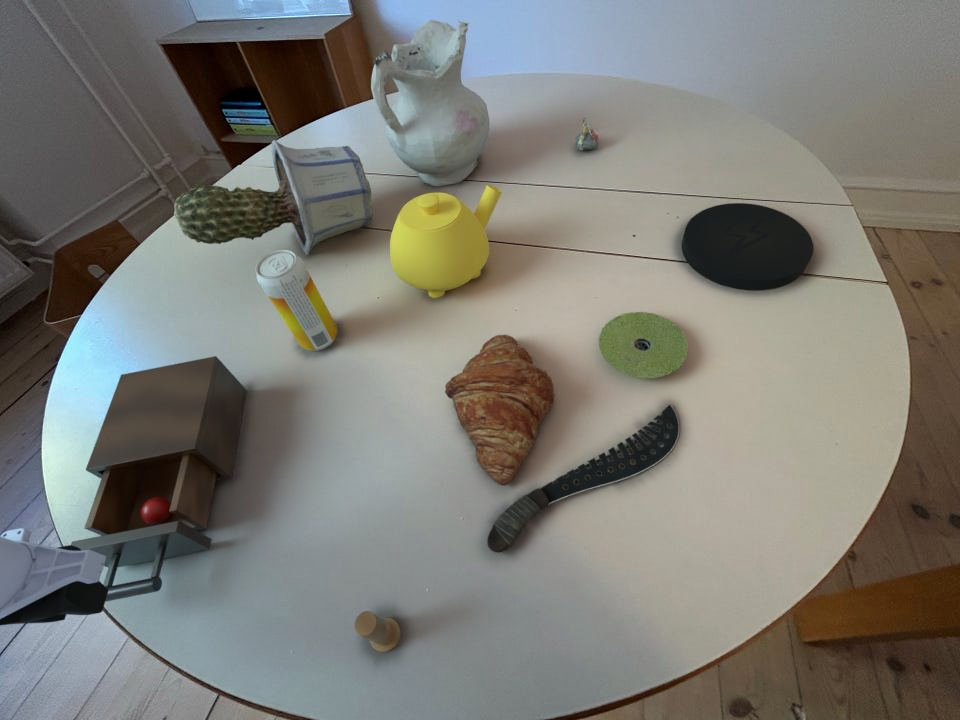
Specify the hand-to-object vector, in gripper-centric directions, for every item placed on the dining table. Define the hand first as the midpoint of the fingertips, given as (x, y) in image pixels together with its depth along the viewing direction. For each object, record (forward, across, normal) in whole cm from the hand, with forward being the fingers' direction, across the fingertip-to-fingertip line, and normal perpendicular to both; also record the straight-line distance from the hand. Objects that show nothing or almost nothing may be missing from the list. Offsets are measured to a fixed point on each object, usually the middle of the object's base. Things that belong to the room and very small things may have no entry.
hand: (83, 604), depth 44 cm
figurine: (+10, -69, -73) cm, 101 cm away
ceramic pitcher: (+10, -40, -75) cm, 85 cm away
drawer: (+8, 0, -10) cm, 13 cm away
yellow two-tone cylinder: (+10, -17, -36) cm, 41 cm away
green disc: (+10, -62, -22) cm, 66 cm away
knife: (+10, -50, -6) cm, 51 cm away
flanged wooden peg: (+9, -25, +6) cm, 28 cm away
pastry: (+10, -42, -18) cm, 46 cm away
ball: (+7, 0, -11) cm, 13 cm away
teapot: (+10, -39, -47) cm, 62 cm away
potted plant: (+10, -12, -60) cm, 62 cm away
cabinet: (+9, 0, -22) cm, 24 cm away
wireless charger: (+10, -83, -38) cm, 92 cm away
